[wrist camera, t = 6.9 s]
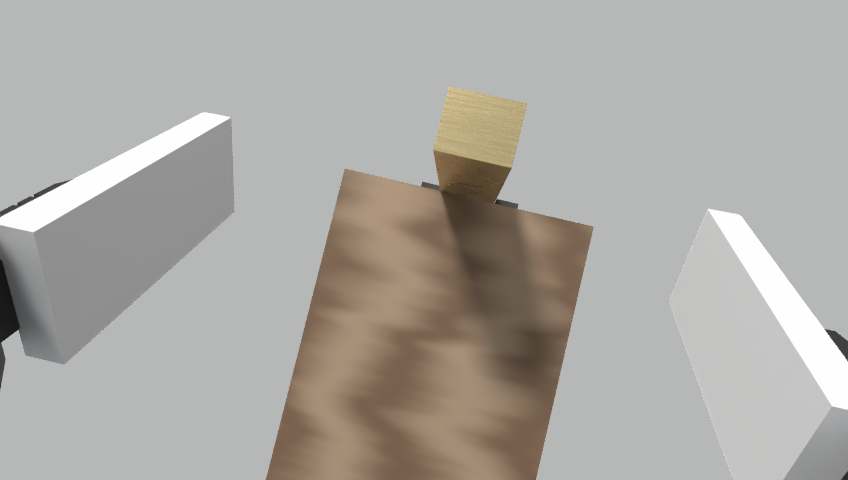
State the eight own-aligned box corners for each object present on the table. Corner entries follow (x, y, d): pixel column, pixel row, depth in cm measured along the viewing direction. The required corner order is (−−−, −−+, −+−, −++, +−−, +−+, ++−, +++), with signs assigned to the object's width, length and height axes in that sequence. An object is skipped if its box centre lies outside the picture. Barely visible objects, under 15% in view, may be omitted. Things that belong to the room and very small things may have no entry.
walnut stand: (443, 697, 44) (552, 225, 46) (436, 914, 29) (599, 199, 31) (270, 645, 45) (385, 186, 47) (177, 829, 30) (351, 142, 32)
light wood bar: (481, 229, 47) (488, 199, 47) (511, 168, 21) (527, 103, 21) (445, 220, 47) (452, 191, 47) (433, 150, 21) (448, 86, 21)
